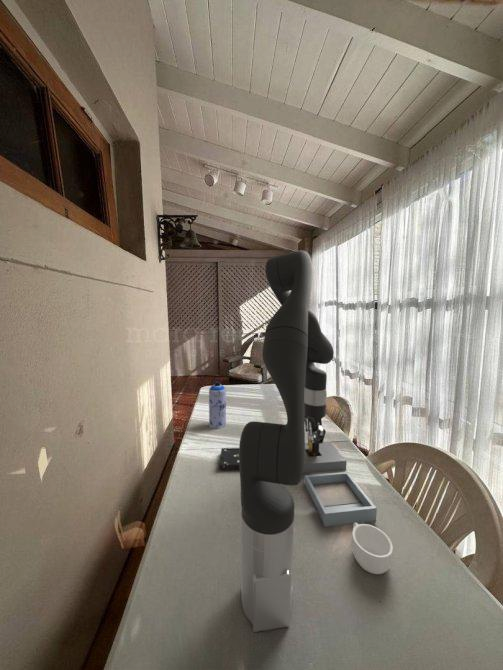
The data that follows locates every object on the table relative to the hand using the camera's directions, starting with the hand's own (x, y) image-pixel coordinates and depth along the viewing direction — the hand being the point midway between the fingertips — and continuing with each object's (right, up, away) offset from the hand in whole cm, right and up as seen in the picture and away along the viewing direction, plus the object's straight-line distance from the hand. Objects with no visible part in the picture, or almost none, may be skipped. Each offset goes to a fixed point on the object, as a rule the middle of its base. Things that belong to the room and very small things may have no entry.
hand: (313, 449), depth 89 cm
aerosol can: (-36, -2, +30) cm, 47 cm away
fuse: (0, -4, 0) cm, 4 cm away
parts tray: (+3, -7, -17) cm, 19 cm away
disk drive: (-25, -6, +2) cm, 25 cm away
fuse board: (0, -5, +1) cm, 5 cm away
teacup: (+4, -9, -33) cm, 34 cm away
